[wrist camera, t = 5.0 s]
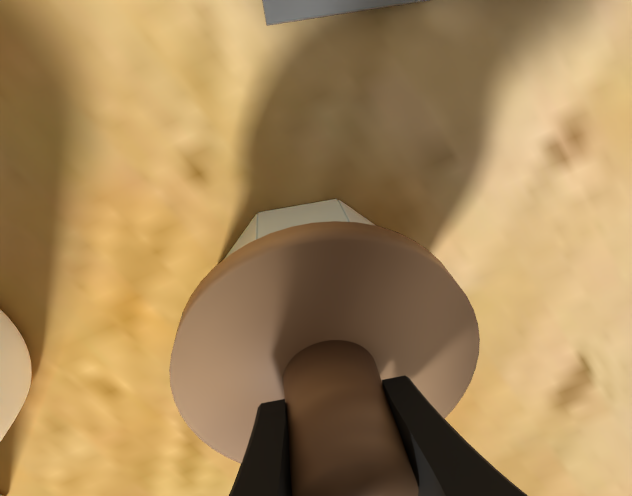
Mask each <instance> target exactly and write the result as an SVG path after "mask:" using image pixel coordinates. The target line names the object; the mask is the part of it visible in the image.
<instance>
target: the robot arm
mask: <svg viewBox="0 0 632 496" xmlns="http://www.w3.org/2000/svg"><path fill="white" fill-rule="evenodd" d="M382 385H383V388H384V391H385V394H386V396H387V399H388V402H389V405H390V408H391V411H392V414H393V417H394V420H395V422H396V425H397V427H398V430H399V433H400V435H401V438H402V441H403V444H404V447H405V450H406V453H407V455H408V458H409V461H410V464H411V467H412V470H413V473H414V476H415V479H416V482H417V485H418V496H527V495H526V494H525V493H524V492H522V491H521V490H520V489H519V488H518V487H516V486H515V485H514V484H513V483H512V482H510V481H509V480H508V479H507V478H506V477H505V476H503V475H502V474H501V473H500V472H499V471H498V470H496V469H495V468H494V467H493V466H492V465H491V464H490V463H489V462H488V461H487V460H485V459H484V458H483V457H482V456H481V455H480V454H479V453H478V452H477V451H476V450H475V449H474V448H473V447H472V446H471V445H470V444H468V443H467V442H466V441H465V440H464V439H463V438H462V437H461V436H460V434H459V433H458V432H457V431H456V430H455V429H454V428H453V427H452V426H451V425H450V424H449V423H448V422H447V421H446V420H445V419H444V418H443V417H442V416H441V415H440V414H439V413H438V412H437V410H436V409H435V408H434V407H433V406H432V405H431V404H430V403H429V401H428V400H427V399H426V398H425V397H424V396H423V394H422V393H421V392H420V391H419V390H418V388H417V387H416V386H415V385H414V383H413V382H412V381H411V380H410V378H408V377H407V376H405V375H404V376H399V377H394V378H389V379H384V380H382ZM229 496H292V490H291V477H290V462H289V436H288V423H287V410H286V402H285V399H281V400H276V401H271V402H266V403H261V404H260V406H259V407H258V409H257V414H256V418H255V422H254V426H253V429H252V433H251V436H250V439H249V443H248V446H247V449H246V452H245V455H244V458H243V460H242V463H241V466H240V468H239V471H238V474H237V477H236V479H235V482H234V485H233V487H232V490H231V492H230V494H229Z"/></svg>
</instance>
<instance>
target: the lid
mask: <svg viewBox="0 0 632 496" xmlns="http://www.w3.org/2000/svg"><path fill="white" fill-rule="evenodd" d="M479 340H480V338H479V330H478V323H477V320H476V316H475V313H474V310H473V308H472V306H471V304H470V302H469V300H468V298H467V296H466V294H465V293H464V292H463V291H462V289H461V288H460V287H459V285H458V284H457V283H456V281H455V280H454V279H453V277H452V276H451V275H450V273H449V272H448V271H447V269H446V268H445V267H444V265H443V264H442V263H441V262H440V261H439V260H438V259H437V258H436V257H435V256H434V255H433V254H432V253H431V252H430V251H429V250H427V249H426V248H424V247H423V246H421V245H420V244H418V243H417V242H415V241H414V240H412V239H410V238H408V237H406V236H404V235H401V234H399V233H397V232H395V231H391V230H388V229H385V228H382V227H379V226H375V225H369V224H363V223H358V222H341V221H331V222H316V223H309V224H303V225H298V226H293V227H289V228H286V229H283V230H279V231H276V232H273V233H270V234H268V235H265V236H263V237H261V238H259V239H256V240H254V241H252V242H250V243H248V244H246V245H245V246H243V247H241V248H240V249H238V250H237V251H235V252H233V253H232V254H230V255H229V256H228V257H227V258H225V259H224V260H223V261H222V262H220V263H219V264H218V265H217V266H215V267H214V268H213V269H212V270H211V271H210V273H209V274H208V275H207V276H206V277H205V278H204V279H203V280H202V281H201V282H200V284H199V285H198V287H197V288H196V289H195V291H194V292H193V294H192V295H191V297H190V299H189V301H188V303H187V305H186V307H185V309H184V311H183V313H182V316H181V320H180V323H179V326H178V330H177V334H176V338H175V342H174V346H173V350H172V354H171V362H170V385H171V390H172V394H173V398H174V401H175V403H176V406H177V408H178V410H179V412H180V415H181V416H182V418H183V419H184V421H185V422H186V423H187V425H188V426H189V428H190V429H191V430H192V431H193V432H194V433H195V434H196V435H197V436H198V437H199V438H200V439H201V440H202V441H203V442H205V443H206V444H207V445H208V446H209V447H211V448H212V449H214V450H215V451H217V452H219V453H220V454H222V455H224V456H225V457H228V458H230V459H232V460H234V461H236V462H238V463H242V460H243V458H244V455H245V452H246V449H247V446H248V443H249V439H250V436H251V433H252V429H253V426H254V422H255V418H256V414H257V409H258V407H259V406H260V404H261V403H266V402H271V401H276V400H281V399H285V402H286V410H287V423H288V436H289V462H290V477H291V490H292V496H418V485H417V482H416V479H415V476H414V473H413V470H412V467H411V464H410V461H409V458H408V455H407V453H406V450H405V447H404V444H403V441H402V438H401V435H400V433H399V430H398V427H397V425H396V422H395V420H394V417H393V414H392V411H391V408H390V405H389V402H388V399H387V396H386V394H385V391H384V388H383V385H382V380H384V379H389V378H394V377H399V376H404V375H405V376H407V377H408V378H410V380H411V381H412V382H413V383H414V385H415V386H416V387H417V388H418V390H419V391H420V392H421V393H422V394H423V396H424V397H425V398H426V399H427V400H428V401H429V403H430V404H431V405H432V406H433V407H434V408H435V409H436V410H437V412H438V413H439V414H440V415H441V416H442V417H443V418H444V419H445V418H446V417H447V415H448V414H449V413H450V412H451V411H452V410H453V409H454V407H455V406H456V405H457V403H458V402H459V401H460V399H461V398H462V396H463V395H464V393H465V391H466V389H467V387H468V386H469V384H470V382H471V379H472V376H473V374H474V371H475V369H476V364H477V360H478V355H479Z"/></svg>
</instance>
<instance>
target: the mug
mask: <svg viewBox="0 0 632 496" xmlns="http://www.w3.org/2000/svg"><path fill="white" fill-rule="evenodd" d="M31 377H32V370H31V359H30V355H29V351H28V348H27V346H26V344H25V341H24V339H23V337H22V336H21V334H20V332H19V331H18V329H17V328H16V326H15V325H14V324H13V323H12V321H11V320H10V319H9V318H8V317H7V316H6V315H5V314H4V312H3V311H2V310H1V309H0V442H1V440H2V439H3V437H4V436H5V434H6V433H7V431H8V430H9V428H10V427H11V425H12V423H13V422H14V420H15V419H16V417H17V415H18V413H19V412H20V410H21V408H22V406H23V404H24V402H25V400H26V398H27V395H28V392H29V389H30V386H31Z"/></svg>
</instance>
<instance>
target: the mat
mask: <svg viewBox="0 0 632 496" xmlns="http://www.w3.org/2000/svg"><path fill="white" fill-rule="evenodd" d="M262 1H263V7H264V13H265V18H266V24H267V26H268V25H274V24H281V23H287V22H293V21H300V20H306V19H313V18H319V17H325V16H332V15H338V14H345V13H351V12H358V11H364V10H370V9H377V8H383V7H390V6H396V5H403V4H409V3H415V2H422V1H428V0H262Z"/></svg>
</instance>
